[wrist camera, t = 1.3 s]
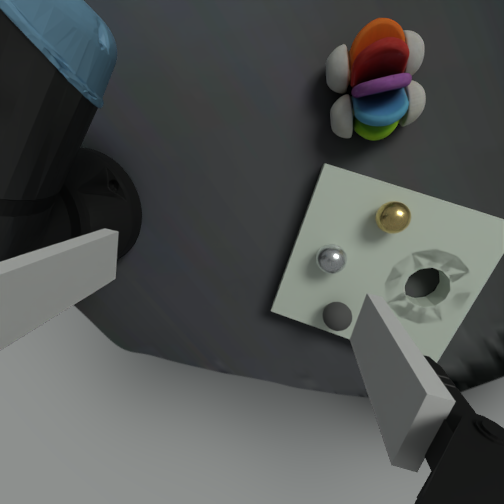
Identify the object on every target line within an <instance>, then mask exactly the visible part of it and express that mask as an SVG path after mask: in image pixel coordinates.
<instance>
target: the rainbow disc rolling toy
mask: <svg viewBox="0 0 504 504" xmlns="http://www.w3.org/2000/svg"><path fill="white" fill-rule="evenodd" d="M423 57H424V42H423V40H422V38H421V37H420V36H419V35H418V34H417V33H416V32H413V31H408V30H405V31H403V30H402V28H401V26H400V25H399V24H398V23H397V22H395V21H393V20H391V19H388V18H377V19H375V20H373V21H371V22H370V23H368V24H367V25H366V26H365V27H364V28H363V29H362V30H361V31H360V32H359V33H358V34H357V36H356V38H355V39H354V41H353V44H352V46H351V49H350V51H349V52H348V50H347V47H346V45H341V46H339V47H337V48H336V49H335V50H334V51H333V52H332V53H331V54H330V55H329V57H328V59H327V61H326V81H327V85H328V86H329V88H330V89H331V90H333V91H335V92H337V93H342V94H344V93H346V91H347V88H348V85H349V84H350V86H351V87H352V92H351V93H352V97H350V96H349V95H348V94H346V95H343V96H341V97H340V98H339V99H338V100H336V102H335V103H334V104H333V106H332V108H331V110H330V121H331V128H332V131H333V132H334V133H335V134H336V135H338V136H340V137H342V138H351V136H352V132H353V128H354V130H355V132H357V133H358V134H359V135H360V136H361V137H363V138H365V139H368V140H380V139H383V138H385V137H387V136H388V135H390V134H391V133H392V132H393V131H394V129H395V128H396V127H397V125H398V123H399V124H400V125H401V126H407V125H409V124H411V123H412V122H414V121H415V120H416V119H417V118H418V117H419V116H420V114H421V113H422V111H423V109H424V106H425V100H426V97H425V91H424V89H423V87H422V86H421V85H420V84H419V83H417V82H415V81H412V75H413V74H414V73H415V72H416V71H417V70H418V69H419V67H420V66H421V63H422V61H423Z"/></svg>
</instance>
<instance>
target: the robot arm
mask: <svg viewBox="0 0 504 504" xmlns="http://www.w3.org/2000/svg"><path fill="white" fill-rule="evenodd" d="M116 60H117V47H116V43H115V39H114V37H113V35H112V33H111V31H110V29H109V28H108V26H107V25H106V24H105V22H104V21H103V20H102V19H101V18H100V17H99V16H98V15H97V14H96V13H95V12H94V11H93V10H92V8H91V7H90V6H89V5H88V4H87V3H86V2H85V1H84V0H0V350H2V349H4V348H5V347H7V346H9V345H10V344H12V343H13V342H15V341H17V340H18V339H20V338H21V337H23V336H25V335H26V334H28V333H29V332H31V331H33V330H34V329H36V328H37V327H39V326H40V325H42V324H44V323H45V322H47V321H49V320H50V319H52V318H53V317H55V316H57V315H58V314H60V313H61V312H63V311H65V310H66V309H68V308H69V307H71V306H73V305H74V304H76V303H77V302H79V301H81V300H82V299H84V298H86V297H87V296H89V295H90V294H92V293H94V292H95V291H97V290H98V289H100V288H102V287H103V286H105V285H106V284H108V283H110V282H111V281H113V280H114V279H115V278H116V263H117V259H118V258H120V257H122V256H123V255H124V254H126V253H127V252H128V251H129V250H130V249H131V248H132V246H133V245H134V243H135V241H136V239H137V237H138V235H139V232H140V228H141V220H142V212H141V204H140V199H139V196H138V193H137V190H136V188H135V186H134V184H133V182H132V180H131V179H130V177H129V176H128V174H127V173H126V172H125V171H124V169H123V168H122V167H121V166H120V165H119V164H118V163H117V162H115V161H114V160H113V159H111V158H110V157H108V156H107V155H105V154H103V153H101V152H98V151H96V150H92V149H87V148H80V146H81V144H82V141H83V139H84V137H85V135H86V133H87V131H88V128H89V126H90V124H91V122H92V120H93V118H94V115H95V113H96V111H97V109H98V108H101V107H102V106H103V104H104V102H103V99H102V98H103V95H104V92H105V90H106V87H107V85H108V82H109V79H110V77H111V74H112V72H113V69H114V67H115V64H116ZM350 342H351V345H352V348H353V351H354V354H355V357H356V360H357V363H358V366H359V369H360V372H361V375H362V378H363V381H364V384H365V387H366V390H367V393H368V396H369V399H370V402H371V405H372V408H373V411H374V414H375V417H376V420H377V423H378V426H379V429H380V432H381V435H382V438H383V441H384V444H385V447H386V450H387V453H388V456H389V459H390V462H391V464H392V465H393V466H397V467H401V468H404V469H408V470H411V471H415V472H417V471H418V470H419V468H420V466H421V464H422V462H423V460H424V458H426V460H427V462H428V464H429V466H430V469H431V471H432V472H431V473H430V475H429V477H428V479H427V480H426V482H425V484H424V486H423V487H422V489H421V491H420V493H419V494H418V496H417V500H416V502H415V504H504V428H502V427H501V426H499V425H498V424H497V423H495V422H493V421H491V420H489V419H488V418H486V417H484V416H481V415H478V414H476V413H475V411H474V410H473V409H472V407H471V406H470V405H469V403H468V402H467V401H466V399H465V398H464V397H463V395H462V394H461V393H460V391H459V390H458V389H457V388H455V385H454V383H453V382H452V381H451V379H449V377H448V375H447V374H446V373H445V371H444V370H443V369H442V367H441V366H440V365H438V364H437V363H436V362H435V361H434V360H433V359H431V358H430V357H429V356H425V355H423V354H422V353H421V351H420V350H419V348H418V347H417V346H416V344H415V343H414V341H413V340H412V338H411V337H410V336H409V334H408V333H407V331H406V330H405V328H404V327H403V326H402V324H401V323H400V321H399V320H398V318H397V317H396V316H395V314H394V313H393V311H392V310H391V308H390V307H389V306H388V304H387V303H386V301H385V300H384V298H383V297H381V296H377V295H373V294H369V293H367V294H366V297H365V299H364V302H363V305H362V308H361V310H360V313H359V316H358V318H357V321H356V324H355V326H354V329H353V332H352V335H351V337H350Z"/></svg>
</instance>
